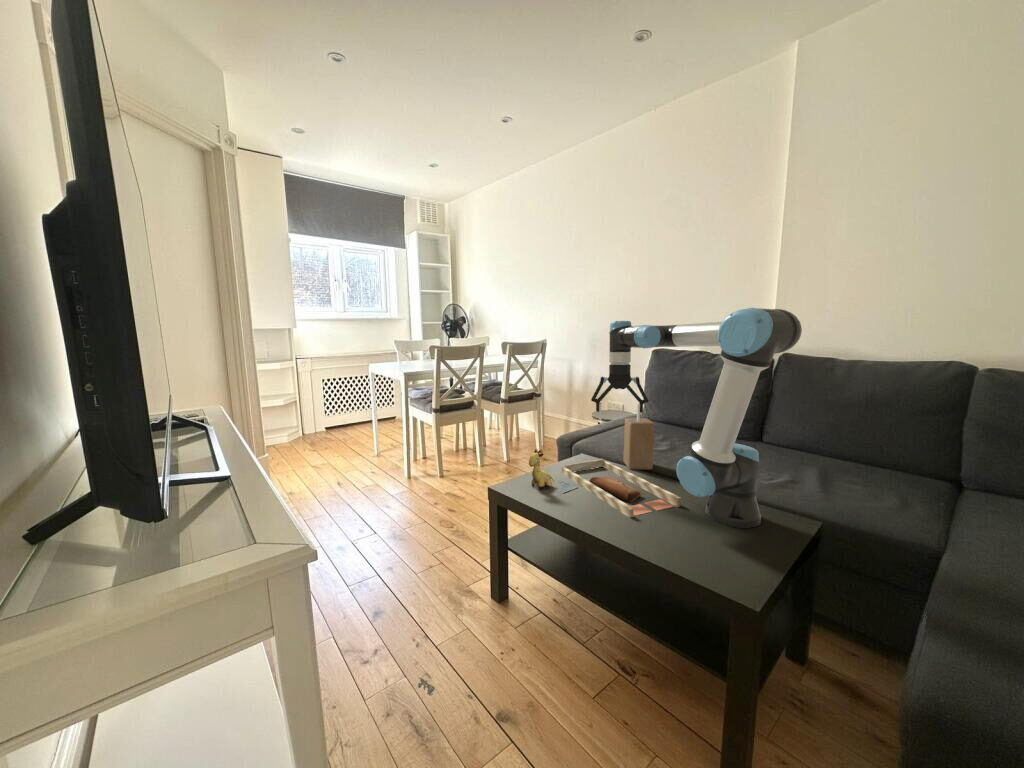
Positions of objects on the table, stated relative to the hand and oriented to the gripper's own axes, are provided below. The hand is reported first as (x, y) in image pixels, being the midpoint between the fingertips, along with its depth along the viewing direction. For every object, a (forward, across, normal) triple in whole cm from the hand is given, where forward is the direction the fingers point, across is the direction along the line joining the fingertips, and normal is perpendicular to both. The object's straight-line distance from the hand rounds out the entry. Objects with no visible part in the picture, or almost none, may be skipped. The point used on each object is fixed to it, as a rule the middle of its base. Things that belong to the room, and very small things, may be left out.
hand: (619, 420), depth 149 cm
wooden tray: (+24, +1, +6) cm, 25 cm away
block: (+24, -9, -21) cm, 33 cm away
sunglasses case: (+25, 0, +7) cm, 26 cm away
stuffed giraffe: (+24, +26, +11) cm, 38 cm away
